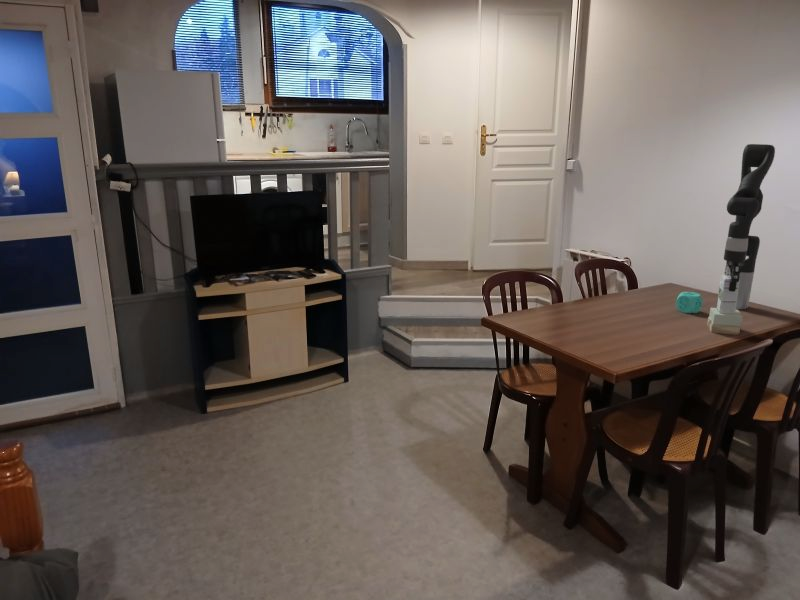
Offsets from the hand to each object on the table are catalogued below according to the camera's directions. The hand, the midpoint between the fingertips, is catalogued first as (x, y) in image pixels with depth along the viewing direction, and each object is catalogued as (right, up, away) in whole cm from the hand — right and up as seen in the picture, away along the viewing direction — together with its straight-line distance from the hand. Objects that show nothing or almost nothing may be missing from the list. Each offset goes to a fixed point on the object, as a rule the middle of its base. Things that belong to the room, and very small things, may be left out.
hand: (729, 288), depth 233 cm
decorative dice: (-2, -10, +30) cm, 31 cm away
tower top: (0, -13, +4) cm, 14 cm away
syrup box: (0, -9, +3) cm, 10 cm away
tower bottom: (0, -17, +5) cm, 18 cm away
